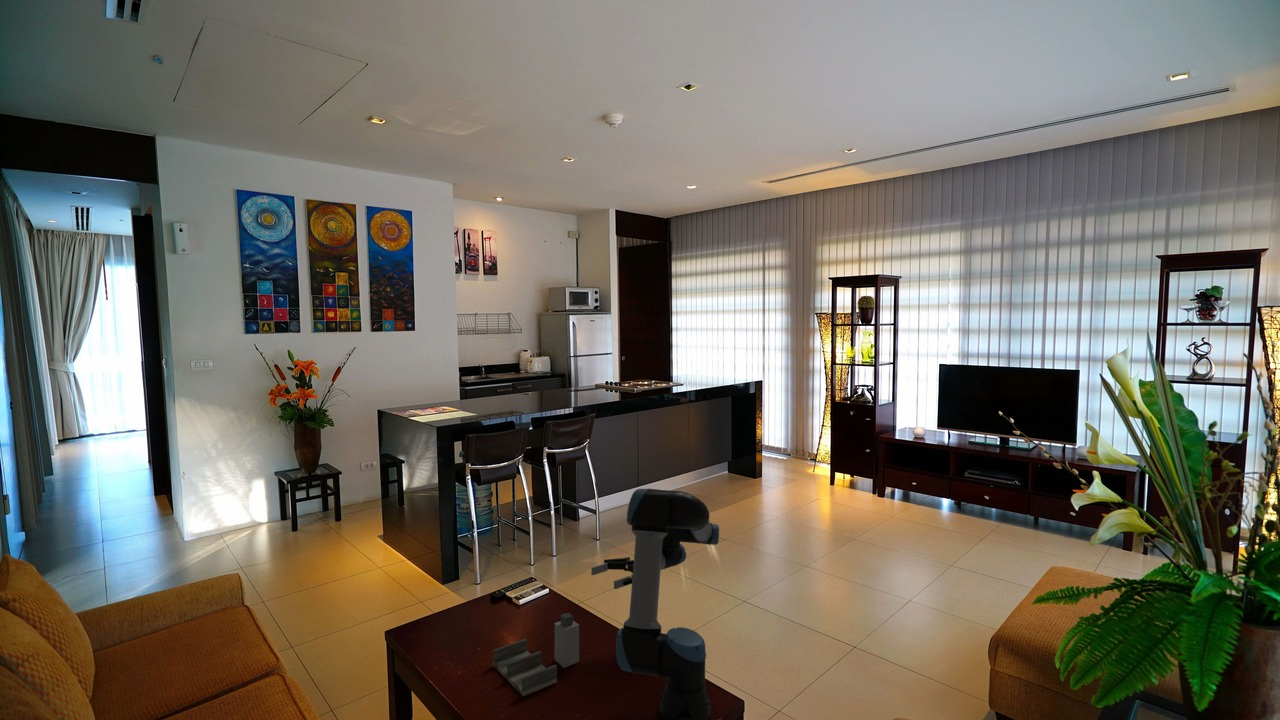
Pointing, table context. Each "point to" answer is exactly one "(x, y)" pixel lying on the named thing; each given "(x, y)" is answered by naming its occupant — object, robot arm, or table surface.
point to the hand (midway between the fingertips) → (602, 578)
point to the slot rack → (523, 668)
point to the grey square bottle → (566, 641)
